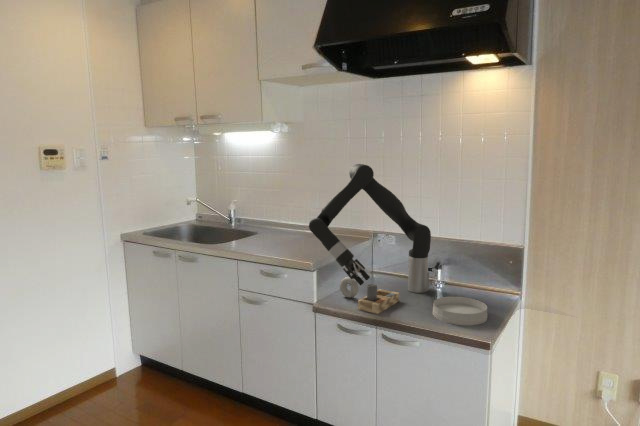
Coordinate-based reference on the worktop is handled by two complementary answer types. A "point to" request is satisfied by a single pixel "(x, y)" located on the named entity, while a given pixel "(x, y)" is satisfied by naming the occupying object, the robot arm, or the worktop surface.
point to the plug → (372, 292)
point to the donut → (353, 287)
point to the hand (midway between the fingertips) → (365, 281)
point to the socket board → (379, 301)
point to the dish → (460, 310)
